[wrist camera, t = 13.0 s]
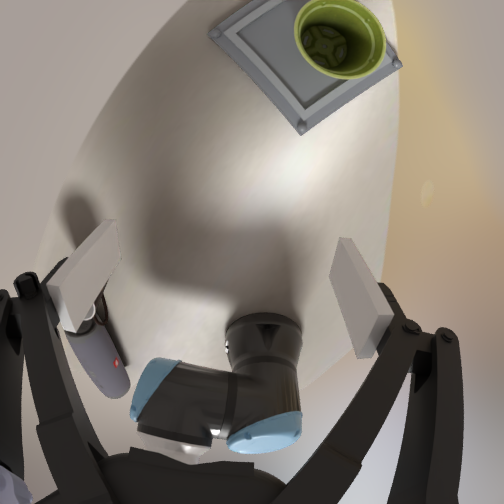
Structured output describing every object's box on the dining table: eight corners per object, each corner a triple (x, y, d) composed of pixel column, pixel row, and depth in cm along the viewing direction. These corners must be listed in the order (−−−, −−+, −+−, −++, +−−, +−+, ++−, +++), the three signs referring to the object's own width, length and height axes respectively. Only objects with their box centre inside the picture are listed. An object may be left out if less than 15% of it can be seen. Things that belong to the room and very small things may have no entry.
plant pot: (277, 69, 30) (284, 62, 22) (293, 5, 25) (305, -17, 17) (348, 90, 31) (374, 92, 23) (365, 29, 26) (393, 17, 18)
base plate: (398, 66, 29) (405, 66, 27) (299, 134, 36) (301, 137, 34) (315, -33, 22) (318, -39, 20) (208, 36, 28) (205, 32, 26)
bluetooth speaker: (137, 371, 65) (127, 404, 56) (106, 366, 65) (95, 396, 56) (109, 306, 53) (91, 343, 44) (74, 302, 53) (54, 336, 44)
